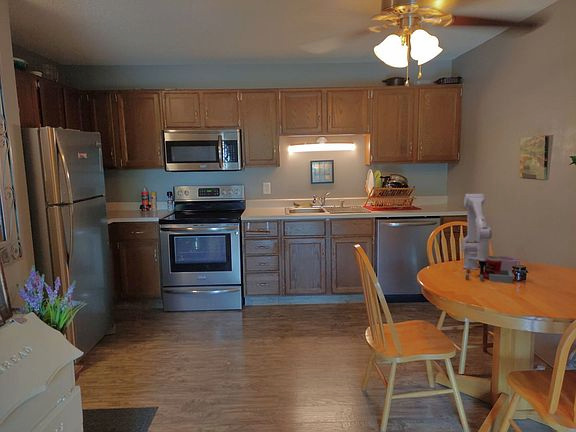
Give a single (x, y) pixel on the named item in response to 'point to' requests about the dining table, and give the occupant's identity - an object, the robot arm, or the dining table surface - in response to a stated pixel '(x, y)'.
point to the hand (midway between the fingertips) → (481, 274)
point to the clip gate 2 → (481, 278)
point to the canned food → (492, 266)
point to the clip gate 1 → (467, 272)
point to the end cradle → (502, 276)
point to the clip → (508, 262)
